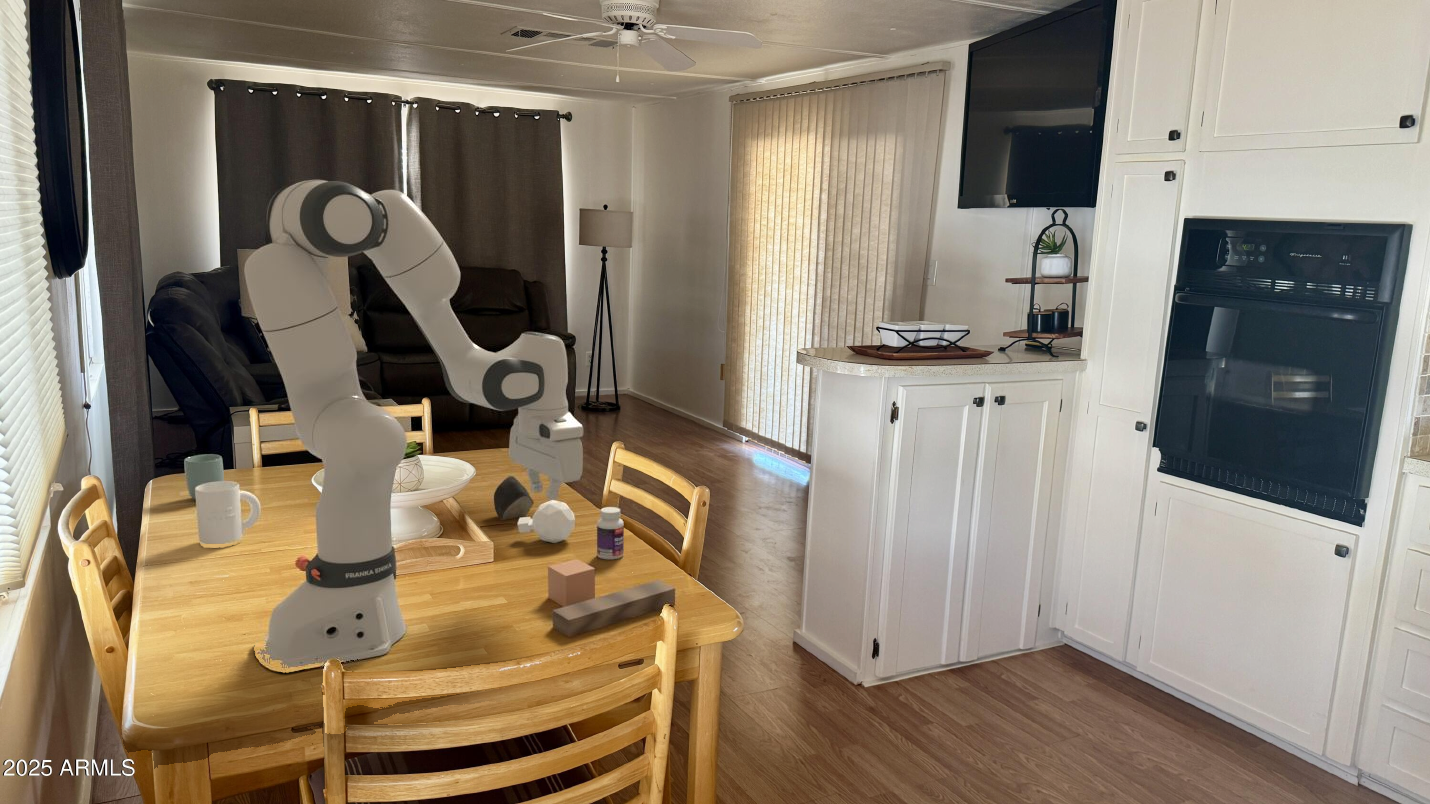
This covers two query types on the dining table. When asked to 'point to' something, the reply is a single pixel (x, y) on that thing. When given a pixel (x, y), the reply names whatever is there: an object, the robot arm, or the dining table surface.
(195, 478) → the cup
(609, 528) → the pill bottle
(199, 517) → the mug
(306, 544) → the dining table surface
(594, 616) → the board
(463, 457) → the dining table surface
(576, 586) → the block
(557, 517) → the perfume bottle
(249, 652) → the dining table surface
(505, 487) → the stone
